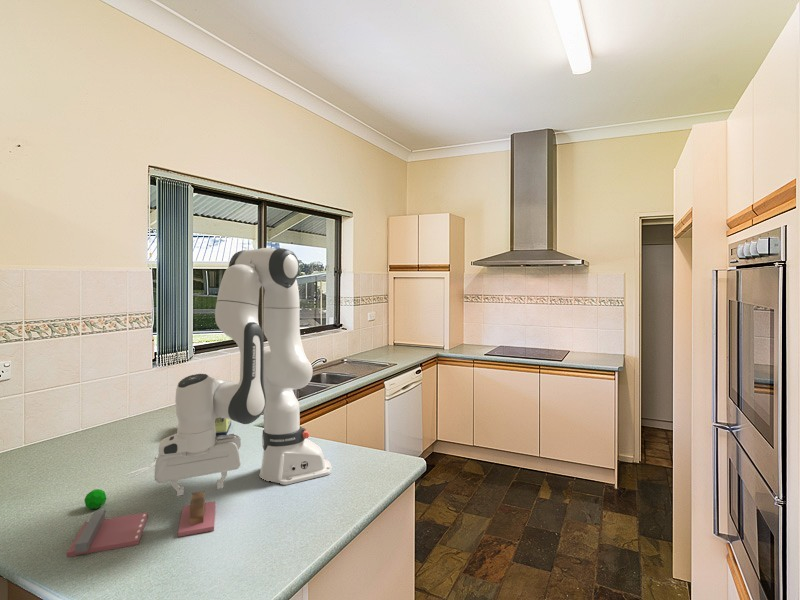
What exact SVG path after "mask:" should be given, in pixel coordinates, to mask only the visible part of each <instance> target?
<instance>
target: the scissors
mask: <svg viewBox="0 0 800 600" xmlns="http://www.w3.org/2000/svg"><path fill="white" fill-rule="evenodd" d="M157 457H158V455H156V456H155V460H154V461H153V462H152V463H151V464H149V465H148V466H145V467H142V468H140V469H136V470H134V471H131V472H128V473H126V474H124V475H122V476H127V475H129V474H133V473H136V472H137V473H136V474H135V475H133V476H131V478H134V477H135V476H137V475H140V474H142V473H144V472H145V471H147V470H149V469H151V468H152V467H155V463H156V460H157Z"/></svg>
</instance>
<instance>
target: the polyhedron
mask: <svg viewBox="0 0 800 600" xmlns="http://www.w3.org/2000/svg"><path fill="white" fill-rule="evenodd" d="M106 502H107V494H106V492H105V491H104V490H103V489H99V488H97V489H93V490H91V491H90V492H88V493H87V494H86V495H85V497H84V505H85V508H87V509H89V510H98V509H99V508H100V507H102V506H103V505H104V504H105V503H106Z"/></svg>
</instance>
